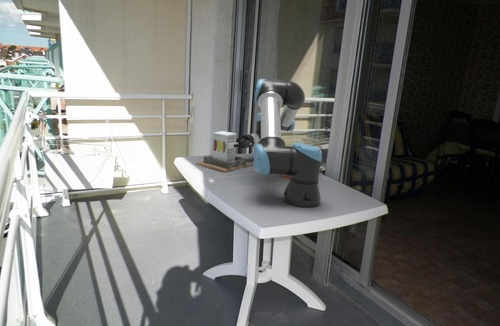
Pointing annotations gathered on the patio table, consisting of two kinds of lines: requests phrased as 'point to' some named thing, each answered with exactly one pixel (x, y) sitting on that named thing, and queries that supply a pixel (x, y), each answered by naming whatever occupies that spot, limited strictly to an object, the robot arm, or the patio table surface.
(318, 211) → the patio table surface
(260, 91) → the robot arm
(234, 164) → the tub holder
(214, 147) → the supplement box
